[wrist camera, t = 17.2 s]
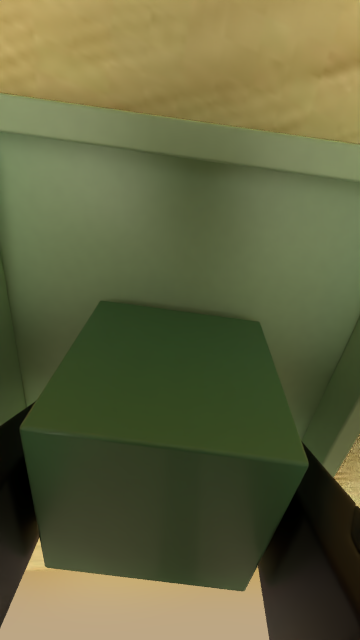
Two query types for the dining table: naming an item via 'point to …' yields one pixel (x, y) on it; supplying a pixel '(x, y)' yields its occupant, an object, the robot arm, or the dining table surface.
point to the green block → (162, 449)
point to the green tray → (182, 245)
